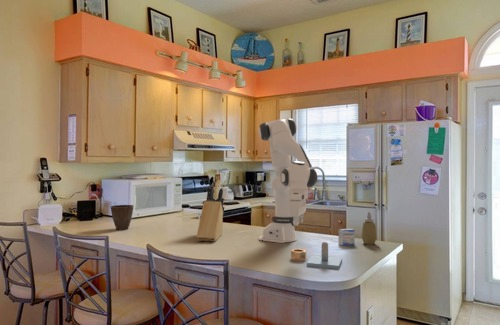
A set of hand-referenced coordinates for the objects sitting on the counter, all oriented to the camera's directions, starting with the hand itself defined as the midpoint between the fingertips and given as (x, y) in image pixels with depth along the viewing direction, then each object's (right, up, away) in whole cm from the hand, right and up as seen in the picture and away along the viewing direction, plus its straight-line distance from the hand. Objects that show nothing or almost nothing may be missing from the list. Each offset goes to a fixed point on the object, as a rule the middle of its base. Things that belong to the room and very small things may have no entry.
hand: (298, 223), depth 179 cm
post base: (+11, -17, -8) cm, 22 cm away
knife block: (-47, -17, +52) cm, 73 cm away
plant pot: (-111, -17, +76) cm, 136 cm away
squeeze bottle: (+44, -17, +33) cm, 58 cm away
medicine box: (+31, -17, +32) cm, 48 cm away
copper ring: (0, -17, 0) cm, 17 cm away
